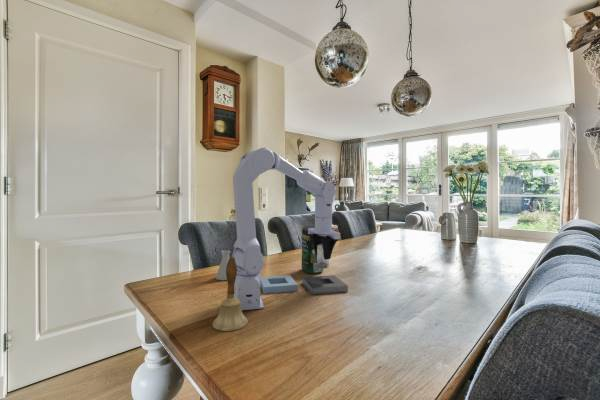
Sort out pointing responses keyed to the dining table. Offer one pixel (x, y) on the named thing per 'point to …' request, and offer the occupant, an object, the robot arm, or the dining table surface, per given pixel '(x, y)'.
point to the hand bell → (230, 304)
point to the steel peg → (321, 257)
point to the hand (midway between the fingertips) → (322, 257)
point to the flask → (223, 266)
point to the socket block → (324, 284)
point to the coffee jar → (309, 253)
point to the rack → (278, 284)
